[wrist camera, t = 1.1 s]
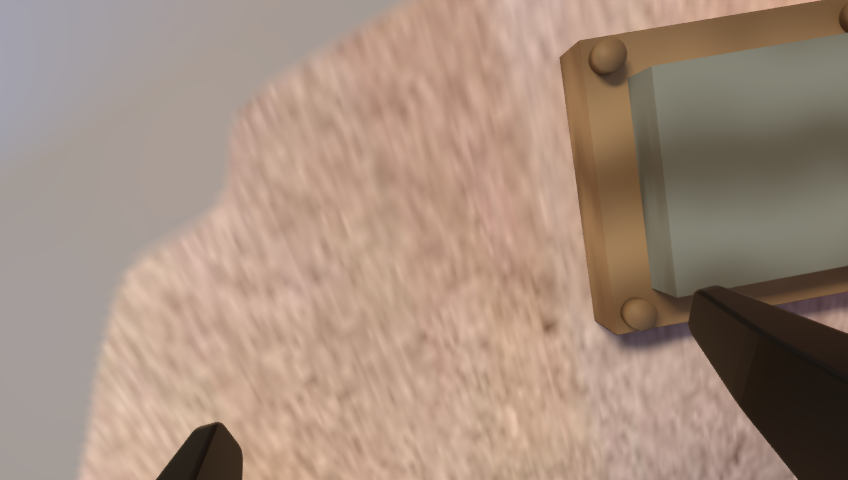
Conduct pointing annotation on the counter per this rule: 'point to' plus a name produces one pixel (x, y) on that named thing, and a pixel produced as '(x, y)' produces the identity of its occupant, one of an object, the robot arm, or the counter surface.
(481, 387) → the counter surface
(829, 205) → the whetstone in wooden base
